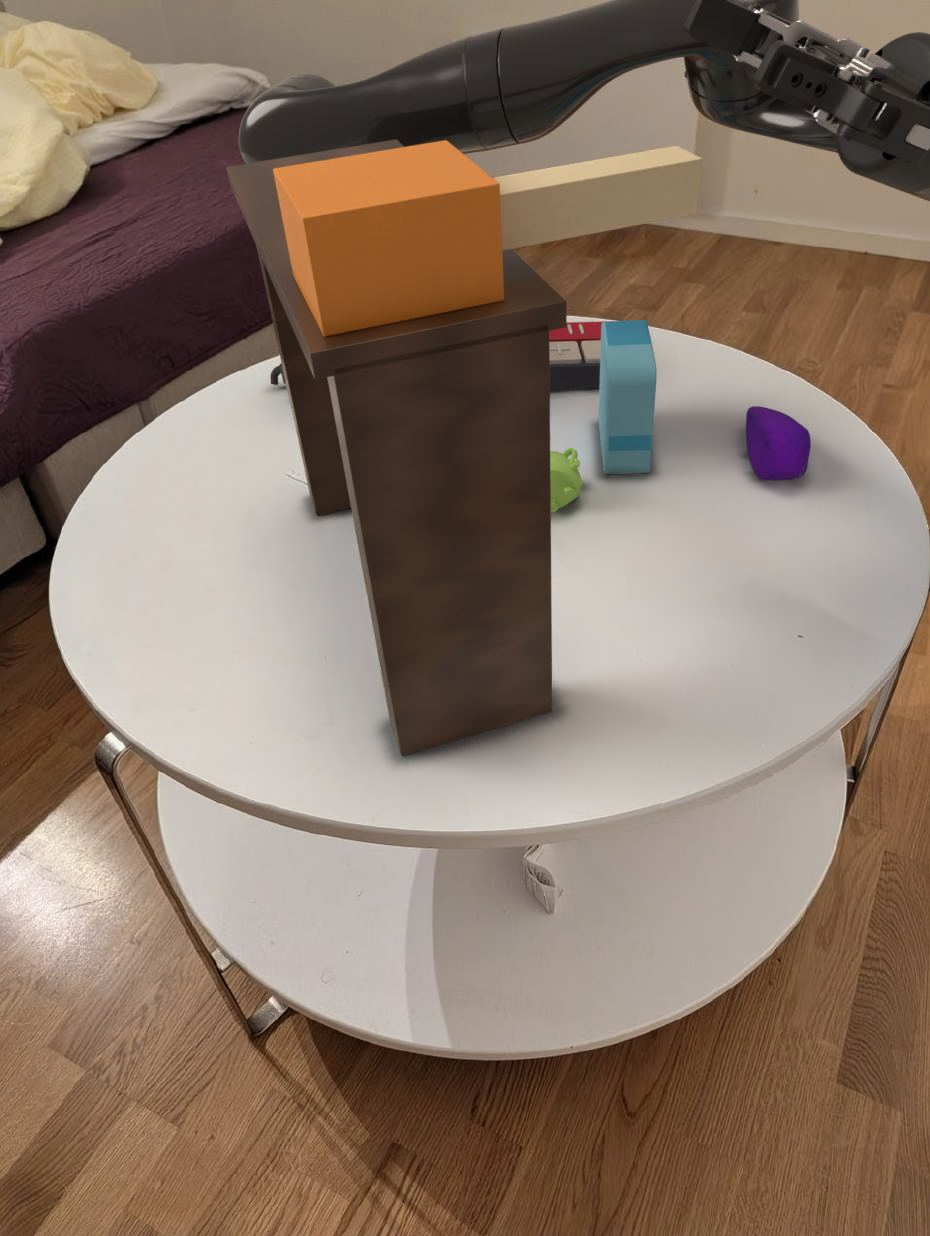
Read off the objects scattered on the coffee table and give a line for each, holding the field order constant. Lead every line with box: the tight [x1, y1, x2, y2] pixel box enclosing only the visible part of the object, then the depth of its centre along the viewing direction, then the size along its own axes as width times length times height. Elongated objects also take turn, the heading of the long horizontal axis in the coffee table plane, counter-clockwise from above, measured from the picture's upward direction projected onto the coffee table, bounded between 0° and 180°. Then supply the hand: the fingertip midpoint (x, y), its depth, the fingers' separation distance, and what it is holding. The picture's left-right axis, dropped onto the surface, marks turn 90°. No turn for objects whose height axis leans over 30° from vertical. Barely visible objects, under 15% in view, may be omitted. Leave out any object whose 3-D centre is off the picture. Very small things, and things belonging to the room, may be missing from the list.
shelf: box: [226, 140, 568, 756], centre depth 71 cm, size 14×36×32 cm, turn 18°
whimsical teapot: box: [550, 447, 583, 513], centre depth 89 cm, size 6×5×6 cm
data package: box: [598, 319, 658, 475], centre depth 93 cm, size 12×4×12 cm, turn 177°
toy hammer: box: [273, 140, 703, 337], centre depth 51 cm, size 23×9×6 cm, turn 108°
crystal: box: [745, 405, 812, 481], centre depth 93 cm, size 5×5×15 cm
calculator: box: [549, 320, 607, 390], centre depth 110 cm, size 11×4×15 cm
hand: (727, 36), depth 48 cm, fingers open, 8 cm apart
